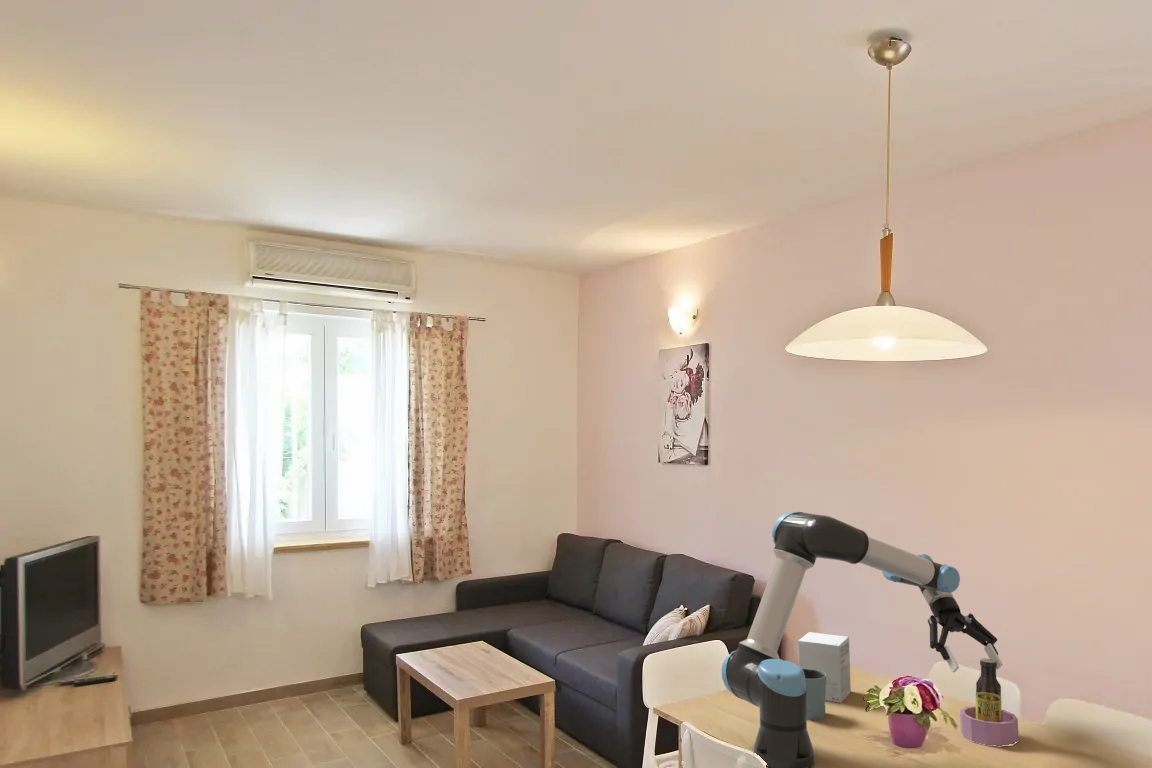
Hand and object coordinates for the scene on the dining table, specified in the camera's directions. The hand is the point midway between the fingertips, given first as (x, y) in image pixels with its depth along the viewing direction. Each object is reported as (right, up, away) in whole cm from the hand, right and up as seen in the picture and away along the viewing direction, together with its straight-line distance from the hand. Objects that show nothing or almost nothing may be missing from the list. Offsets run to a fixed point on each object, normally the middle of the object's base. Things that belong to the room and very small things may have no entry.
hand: (977, 668), depth 221 cm
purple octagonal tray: (0, -17, -5) cm, 18 cm away
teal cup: (-43, -19, +13) cm, 49 cm away
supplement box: (-32, -20, +32) cm, 50 cm away
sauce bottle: (+1, -16, -5) cm, 17 cm away
